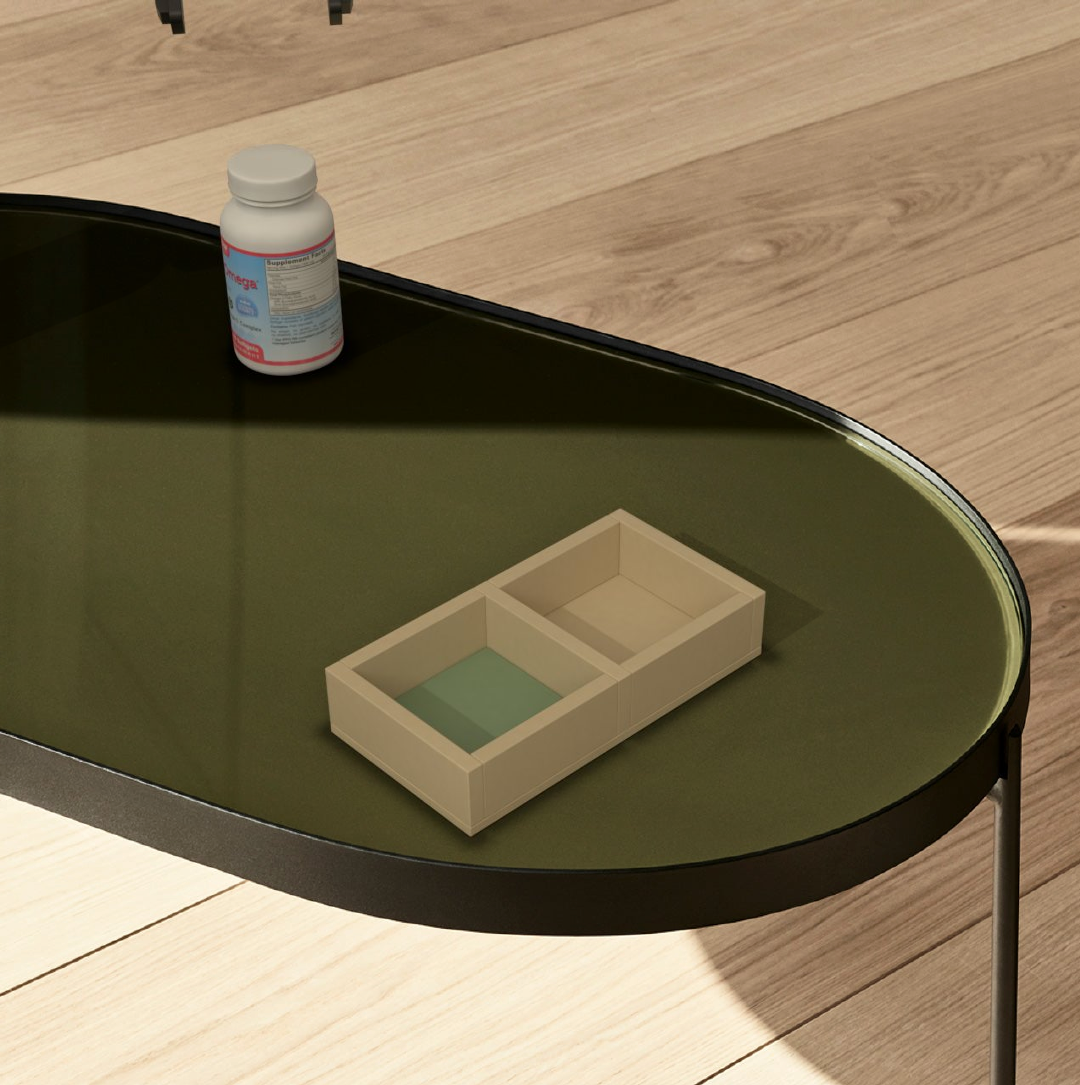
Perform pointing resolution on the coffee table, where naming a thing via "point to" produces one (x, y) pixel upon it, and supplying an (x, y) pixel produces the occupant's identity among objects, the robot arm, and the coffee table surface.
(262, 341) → the pill bottle
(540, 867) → the coffee table surface
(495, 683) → the holder
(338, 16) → the robot arm
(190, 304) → the coffee table surface
